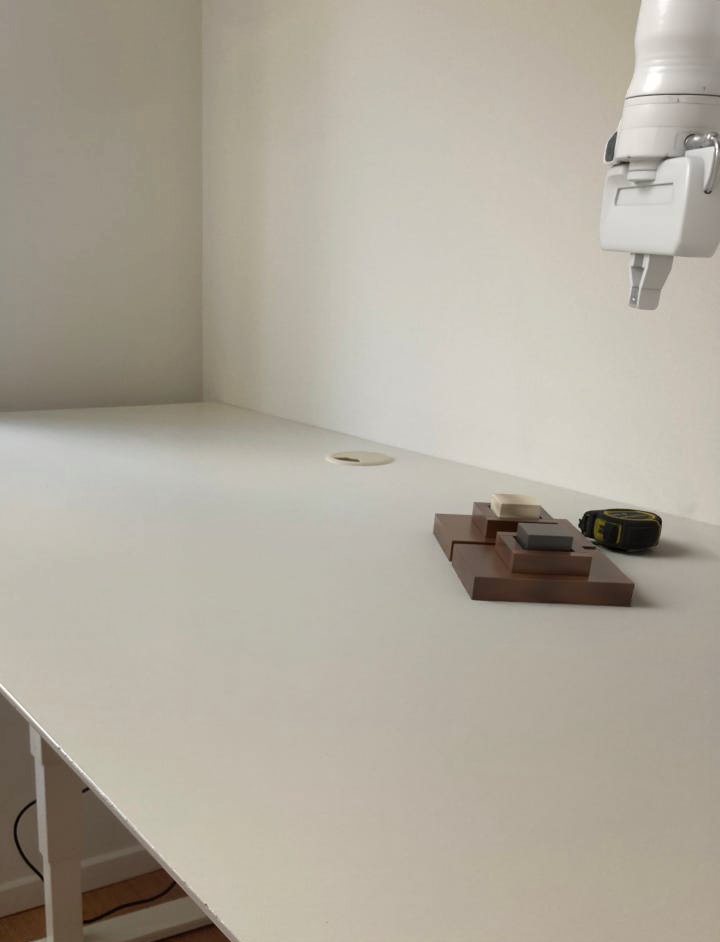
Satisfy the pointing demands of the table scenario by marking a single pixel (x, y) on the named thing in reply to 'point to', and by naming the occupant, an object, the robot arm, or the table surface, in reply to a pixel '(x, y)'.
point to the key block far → (489, 528)
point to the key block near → (540, 574)
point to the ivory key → (515, 506)
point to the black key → (544, 537)
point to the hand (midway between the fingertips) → (641, 308)
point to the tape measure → (622, 528)
